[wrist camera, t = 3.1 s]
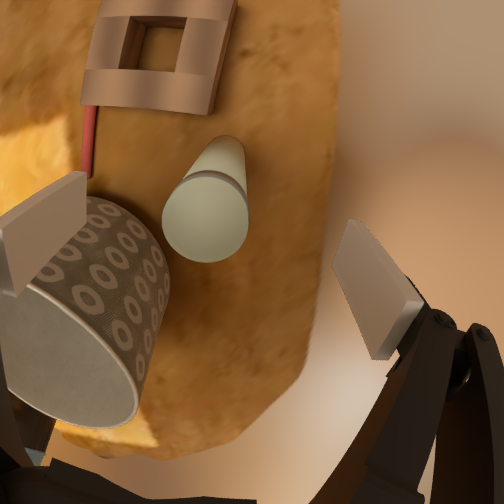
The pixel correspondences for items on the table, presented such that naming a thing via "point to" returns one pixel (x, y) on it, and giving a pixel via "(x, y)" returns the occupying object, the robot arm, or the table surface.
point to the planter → (88, 322)
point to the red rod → (88, 139)
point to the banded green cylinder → (210, 204)
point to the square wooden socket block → (158, 82)
